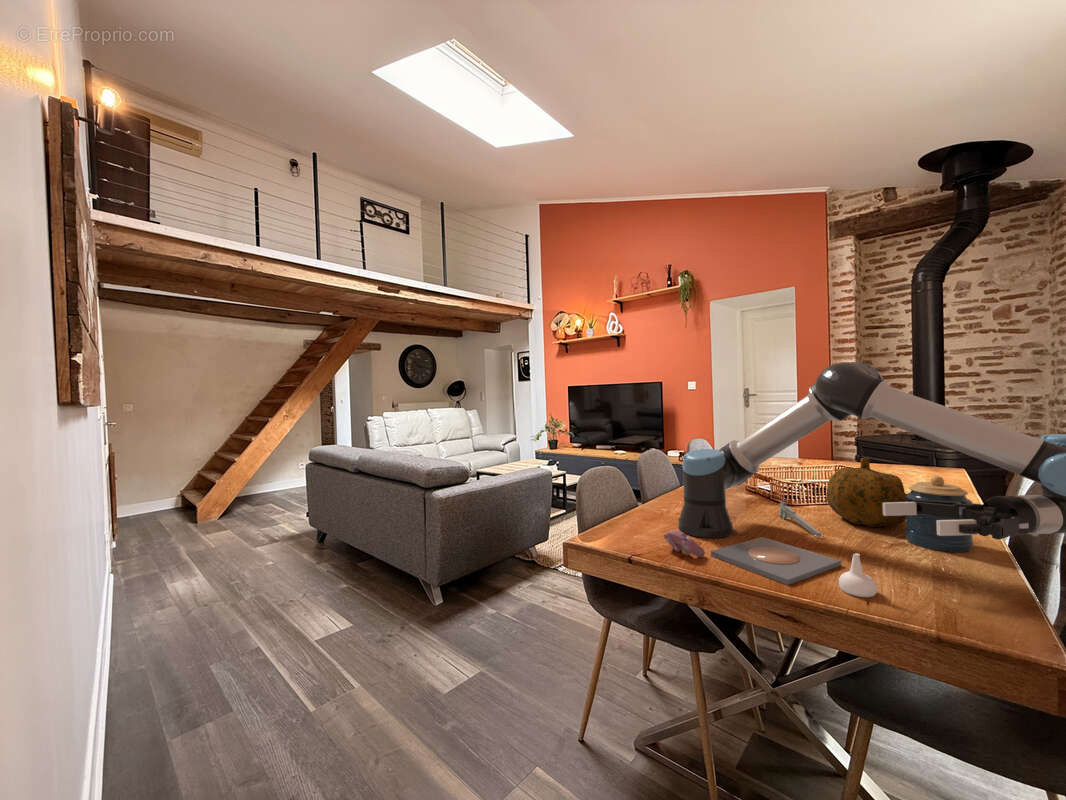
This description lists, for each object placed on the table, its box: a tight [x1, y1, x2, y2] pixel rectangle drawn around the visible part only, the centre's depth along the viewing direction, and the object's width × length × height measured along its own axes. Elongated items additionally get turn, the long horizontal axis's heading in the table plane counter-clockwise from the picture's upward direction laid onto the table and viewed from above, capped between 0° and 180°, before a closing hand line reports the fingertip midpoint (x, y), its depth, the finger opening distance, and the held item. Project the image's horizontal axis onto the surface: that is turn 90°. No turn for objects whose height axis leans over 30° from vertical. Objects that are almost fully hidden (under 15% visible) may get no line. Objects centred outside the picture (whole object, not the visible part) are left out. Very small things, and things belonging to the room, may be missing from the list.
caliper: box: [778, 499, 824, 538], centre depth 132 cm, size 20×1×6 cm, turn 0°
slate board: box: [710, 536, 842, 586], centre depth 108 cm, size 20×20×1 cm
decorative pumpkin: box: [826, 457, 908, 528], centre depth 135 cm, size 20×21×20 cm
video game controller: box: [663, 529, 706, 558], centre depth 115 cm, size 10×5×7 cm, turn 24°
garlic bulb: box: [838, 552, 878, 598], centre depth 91 cm, size 6×6×8 cm
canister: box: [905, 475, 974, 553], centre depth 115 cm, size 13×13×18 cm
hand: (908, 517), depth 90 cm, fingers open, 13 cm apart
